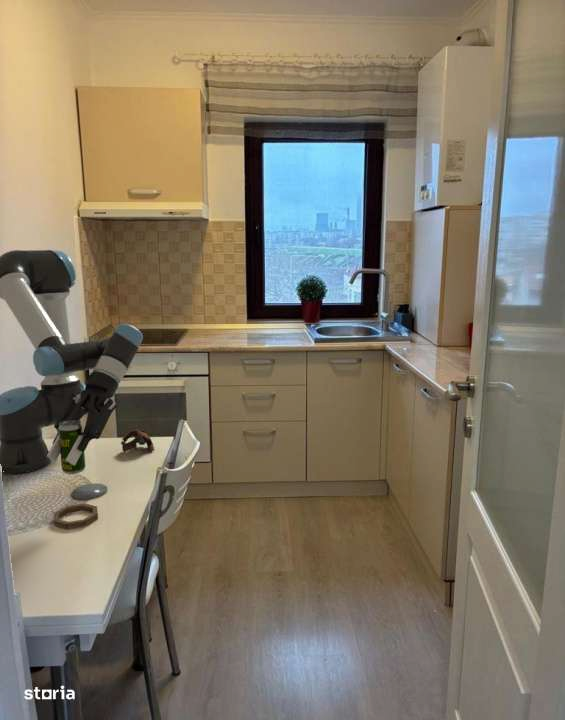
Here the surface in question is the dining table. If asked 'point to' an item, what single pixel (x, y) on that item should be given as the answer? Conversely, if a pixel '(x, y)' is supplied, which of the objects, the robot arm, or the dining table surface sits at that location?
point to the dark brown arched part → (136, 440)
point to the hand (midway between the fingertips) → (60, 460)
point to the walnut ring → (77, 523)
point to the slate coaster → (89, 491)
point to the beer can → (70, 445)
